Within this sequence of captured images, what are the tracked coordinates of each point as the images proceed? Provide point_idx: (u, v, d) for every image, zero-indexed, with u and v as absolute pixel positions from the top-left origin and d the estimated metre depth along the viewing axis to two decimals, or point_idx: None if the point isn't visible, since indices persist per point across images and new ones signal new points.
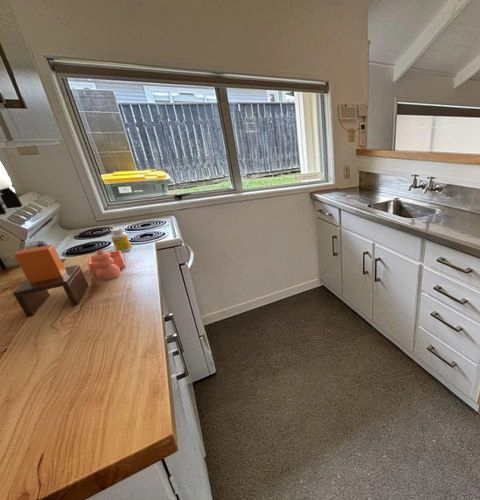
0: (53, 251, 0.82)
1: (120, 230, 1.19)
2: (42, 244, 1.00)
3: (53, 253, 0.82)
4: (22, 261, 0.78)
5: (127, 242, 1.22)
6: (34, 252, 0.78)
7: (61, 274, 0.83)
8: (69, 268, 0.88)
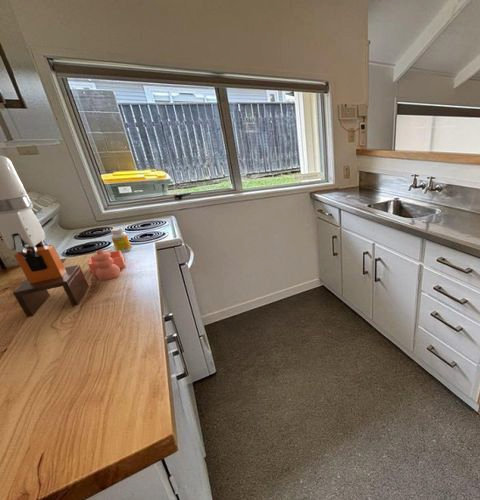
0: (53, 251, 0.82)
1: (120, 230, 1.19)
2: None
3: (53, 253, 0.82)
4: (22, 261, 0.78)
5: (127, 242, 1.22)
6: None
7: (61, 274, 0.83)
8: (69, 268, 0.88)
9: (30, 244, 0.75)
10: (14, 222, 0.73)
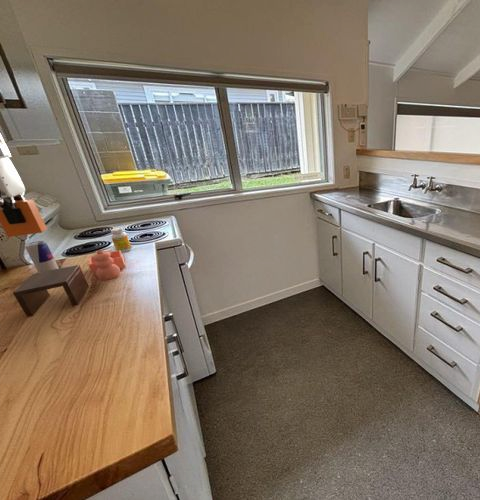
0: (33, 205, 0.79)
1: (120, 230, 1.19)
2: (42, 244, 1.00)
3: (32, 207, 0.79)
4: None
5: (127, 242, 1.22)
6: None
7: (41, 229, 0.80)
8: (69, 268, 0.88)
9: (7, 194, 0.73)
10: None
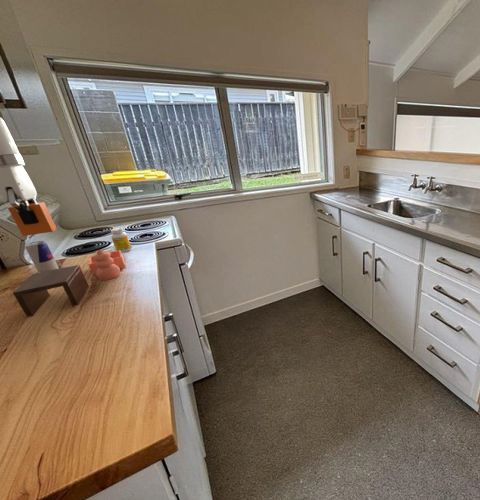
0: (44, 207, 0.89)
1: (120, 230, 1.19)
2: (42, 244, 1.00)
3: (44, 209, 0.89)
4: (15, 214, 0.85)
5: (127, 242, 1.22)
6: None
7: (52, 229, 0.90)
8: (69, 268, 0.88)
9: (22, 198, 0.83)
10: (7, 176, 0.80)
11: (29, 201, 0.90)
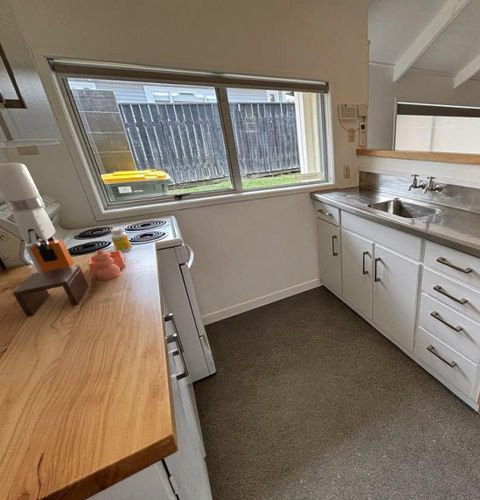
0: (62, 244, 0.95)
1: (120, 230, 1.19)
2: None
3: (62, 246, 0.94)
4: (36, 253, 0.90)
5: (127, 242, 1.22)
6: None
7: (69, 264, 0.96)
8: (69, 268, 0.88)
9: (43, 238, 0.88)
10: (29, 219, 0.85)
11: (48, 238, 0.95)
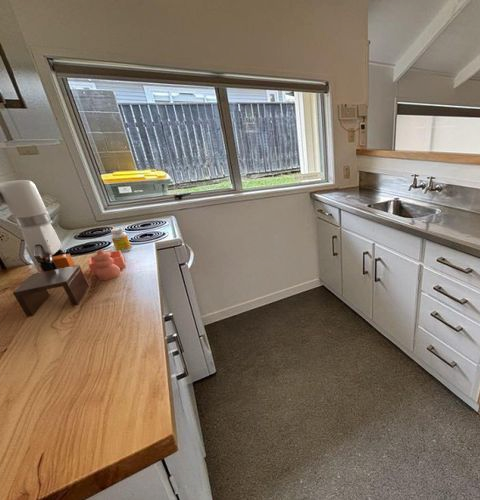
0: (69, 259, 0.97)
1: (120, 230, 1.19)
2: None
3: (69, 261, 0.96)
4: None
5: (127, 242, 1.22)
6: (54, 260, 0.93)
7: None
8: (69, 268, 0.88)
9: (50, 253, 0.90)
10: (37, 235, 0.87)
11: None
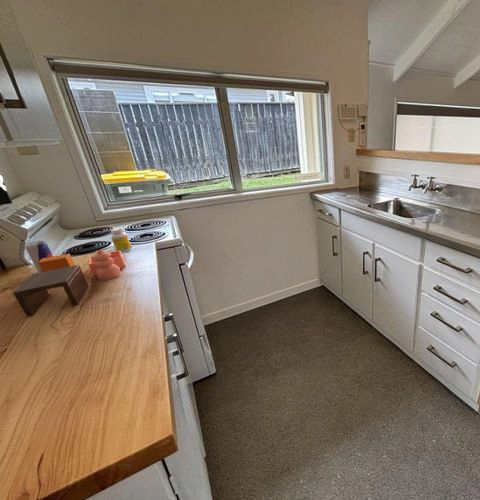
0: (69, 259, 0.97)
1: (120, 230, 1.19)
2: (42, 244, 1.00)
3: (69, 261, 0.96)
4: (44, 268, 0.93)
5: (127, 242, 1.22)
6: (54, 260, 0.93)
7: None
8: (69, 268, 0.88)
9: None
10: None
11: None
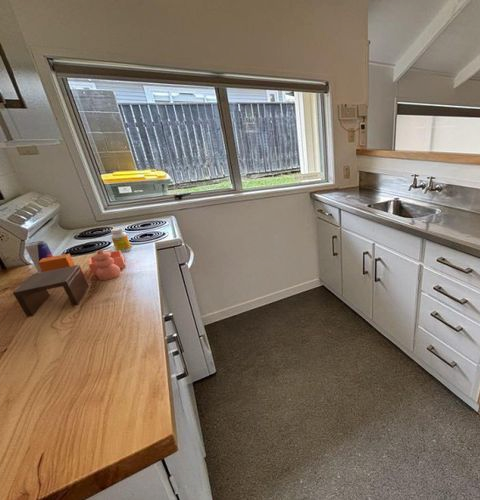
0: (69, 259, 0.97)
1: (120, 230, 1.19)
2: (42, 244, 1.00)
3: (69, 261, 0.96)
4: (44, 268, 0.93)
5: (127, 242, 1.22)
6: (54, 260, 0.93)
7: None
8: (69, 268, 0.88)
9: None
10: None
11: None
